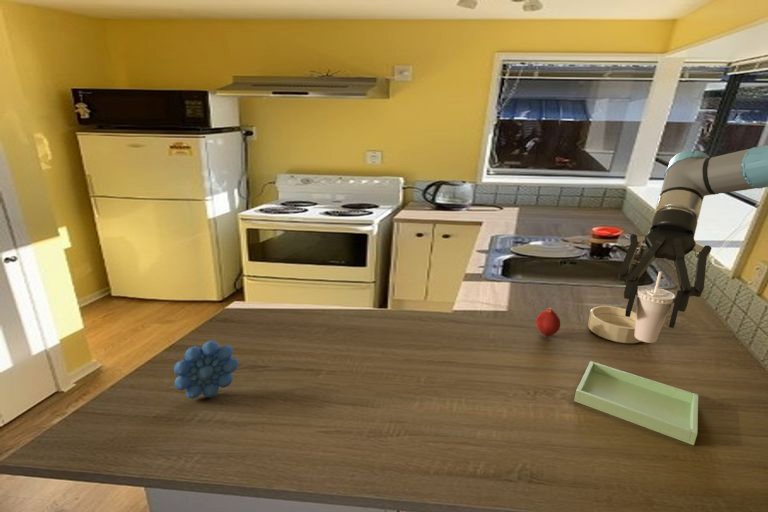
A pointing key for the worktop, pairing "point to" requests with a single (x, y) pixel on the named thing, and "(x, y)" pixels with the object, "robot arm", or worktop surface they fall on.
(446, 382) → the worktop surface
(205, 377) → the blue flower
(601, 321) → the bowl
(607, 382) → the tray
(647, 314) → the smoothie
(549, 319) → the onion
